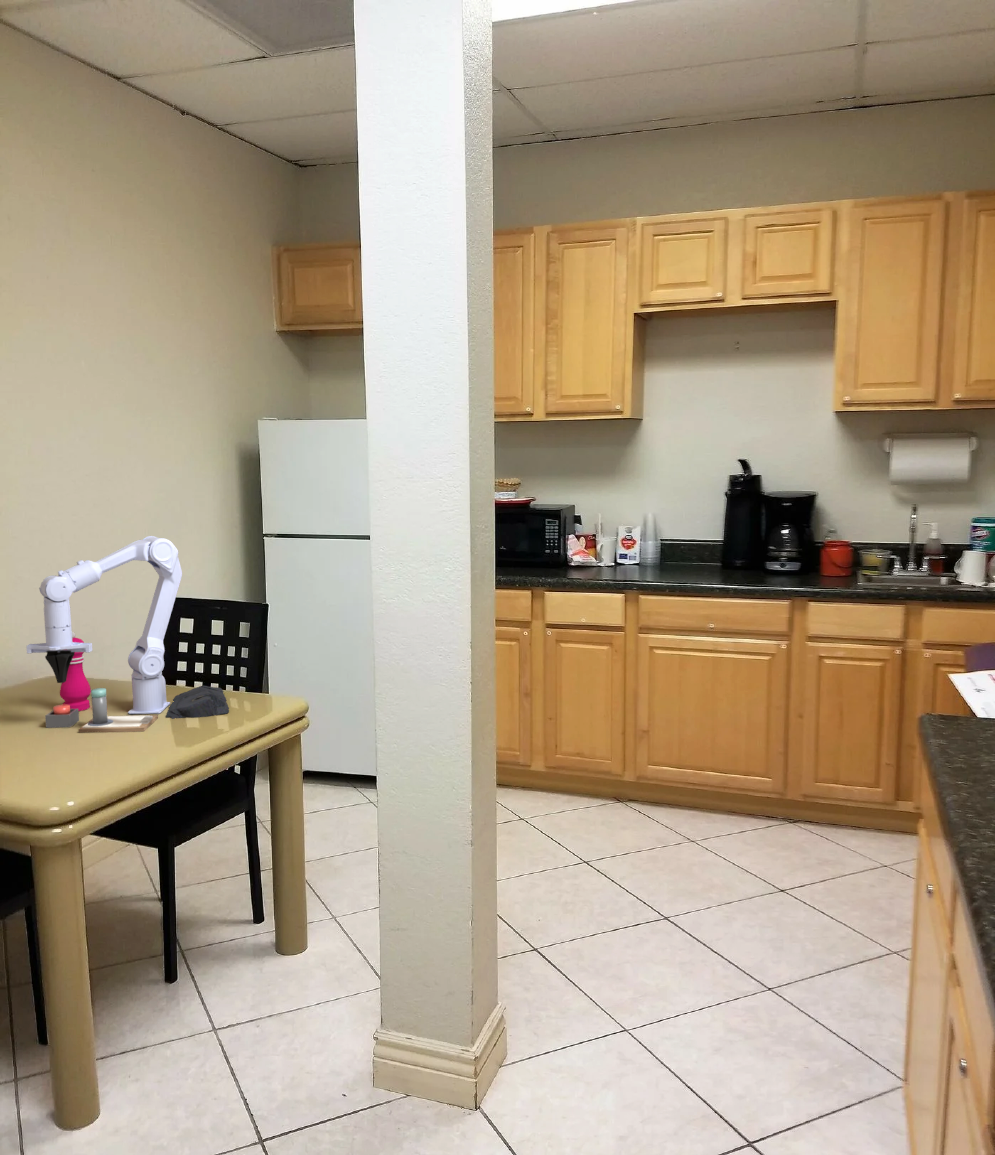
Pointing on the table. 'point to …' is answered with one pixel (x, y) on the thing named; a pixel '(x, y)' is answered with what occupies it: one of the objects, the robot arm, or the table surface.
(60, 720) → the button box
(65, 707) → the button
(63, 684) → the pepper mill
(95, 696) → the marker
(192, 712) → the dark slate chunk
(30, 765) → the table surface
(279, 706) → the table surface
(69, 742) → the table surface
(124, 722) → the clipboard
